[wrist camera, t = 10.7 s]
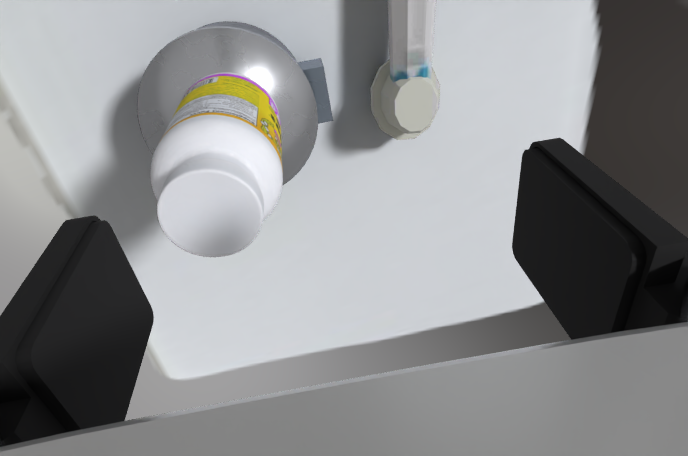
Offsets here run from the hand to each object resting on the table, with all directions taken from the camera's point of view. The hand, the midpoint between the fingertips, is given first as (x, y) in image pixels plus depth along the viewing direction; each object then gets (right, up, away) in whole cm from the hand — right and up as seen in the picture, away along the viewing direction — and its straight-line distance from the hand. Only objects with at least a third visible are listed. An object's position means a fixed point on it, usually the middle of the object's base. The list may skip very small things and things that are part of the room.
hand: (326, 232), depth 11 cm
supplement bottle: (-7, +8, +21) cm, 24 cm away
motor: (-8, +10, +26) cm, 29 cm away
